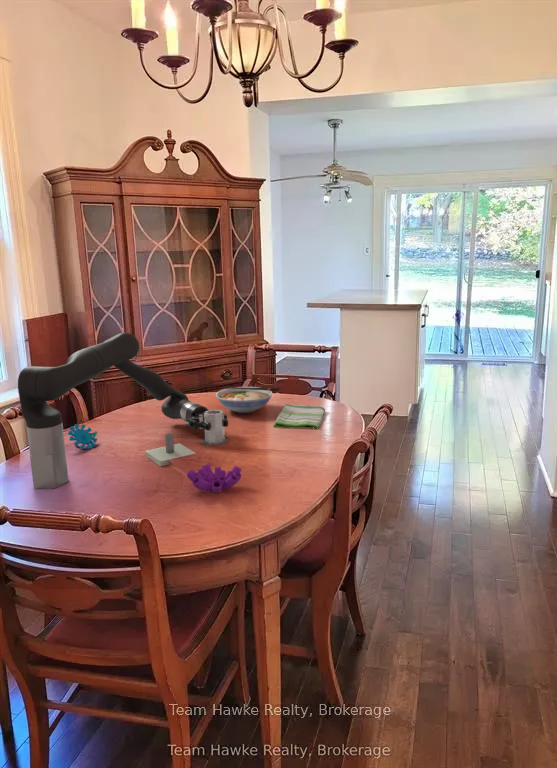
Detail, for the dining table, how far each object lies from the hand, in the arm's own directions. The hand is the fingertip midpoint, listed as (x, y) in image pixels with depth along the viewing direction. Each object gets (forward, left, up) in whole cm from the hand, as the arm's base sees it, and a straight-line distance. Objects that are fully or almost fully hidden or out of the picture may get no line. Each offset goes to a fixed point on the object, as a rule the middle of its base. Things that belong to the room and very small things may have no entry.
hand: (217, 425), depth 189 cm
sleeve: (+2, +1, -6) cm, 6 cm away
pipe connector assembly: (-35, -3, -8) cm, 36 cm away
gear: (+2, +45, -8) cm, 46 cm away
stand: (+2, +1, -7) cm, 8 cm away
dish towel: (+31, -28, -8) cm, 43 cm away
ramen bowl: (+44, -6, -8) cm, 45 cm away
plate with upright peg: (-8, +14, -7) cm, 18 cm away
